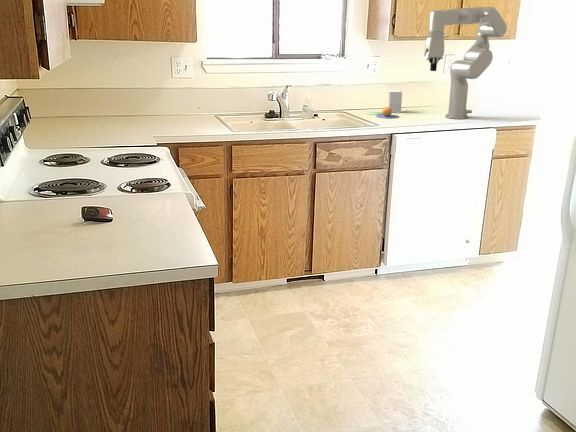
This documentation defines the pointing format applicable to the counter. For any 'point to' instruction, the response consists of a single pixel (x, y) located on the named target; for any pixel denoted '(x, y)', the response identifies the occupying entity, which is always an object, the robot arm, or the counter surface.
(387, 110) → the ball
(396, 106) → the supplement box
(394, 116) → the navy disc
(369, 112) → the green far disc
